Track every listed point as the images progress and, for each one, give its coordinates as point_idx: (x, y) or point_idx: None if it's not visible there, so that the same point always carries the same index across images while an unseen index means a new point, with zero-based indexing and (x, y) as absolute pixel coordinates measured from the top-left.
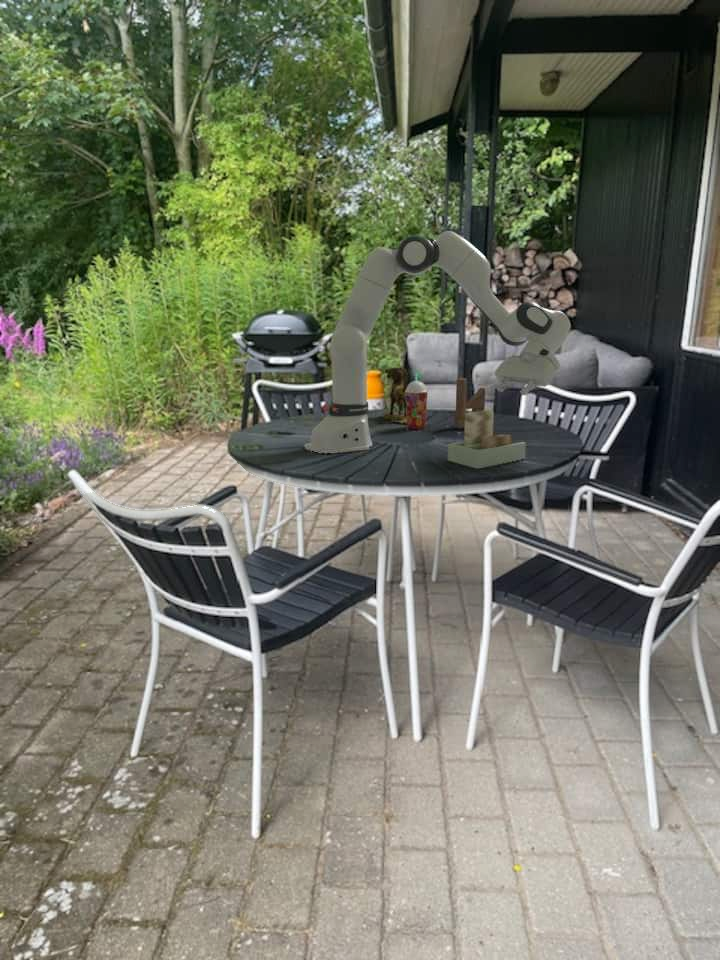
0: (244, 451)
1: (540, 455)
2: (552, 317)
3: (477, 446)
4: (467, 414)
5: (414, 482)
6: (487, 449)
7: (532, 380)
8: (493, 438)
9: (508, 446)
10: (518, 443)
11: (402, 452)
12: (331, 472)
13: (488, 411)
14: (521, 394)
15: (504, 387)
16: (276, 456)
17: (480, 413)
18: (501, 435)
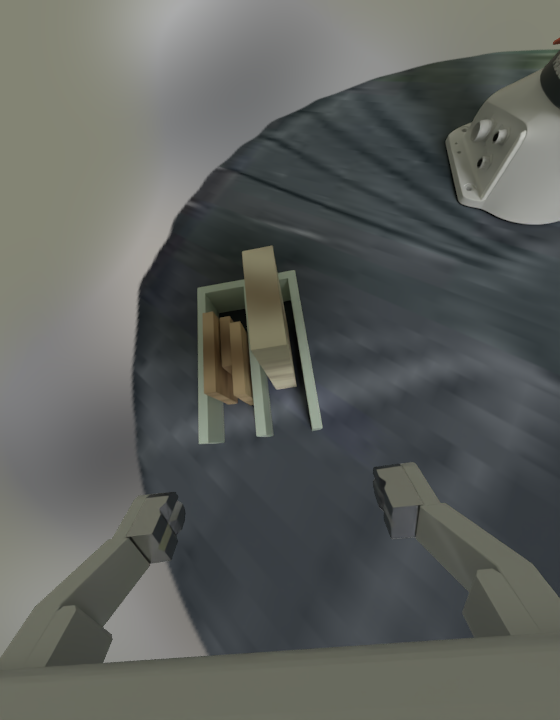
0: (519, 57)
1: (226, 514)
2: None
3: (246, 318)
4: (260, 250)
5: (204, 198)
6: (198, 313)
7: (8, 663)
8: (203, 330)
9: (198, 377)
10: (203, 419)
11: (409, 250)
12: (315, 130)
13: (252, 326)
14: (181, 506)
15: (390, 524)
16: (459, 87)
17: (246, 289)
18: (237, 384)
